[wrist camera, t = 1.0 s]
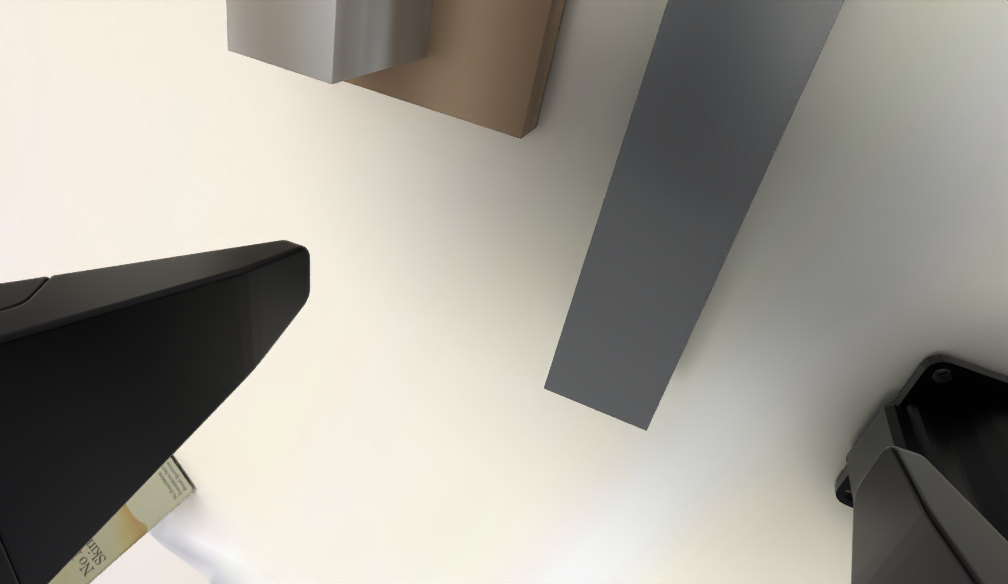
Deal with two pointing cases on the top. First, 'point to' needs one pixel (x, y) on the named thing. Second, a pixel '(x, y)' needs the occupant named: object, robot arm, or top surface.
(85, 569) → the skincare box
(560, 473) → the top surface
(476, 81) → the display stand
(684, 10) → the frame bar
